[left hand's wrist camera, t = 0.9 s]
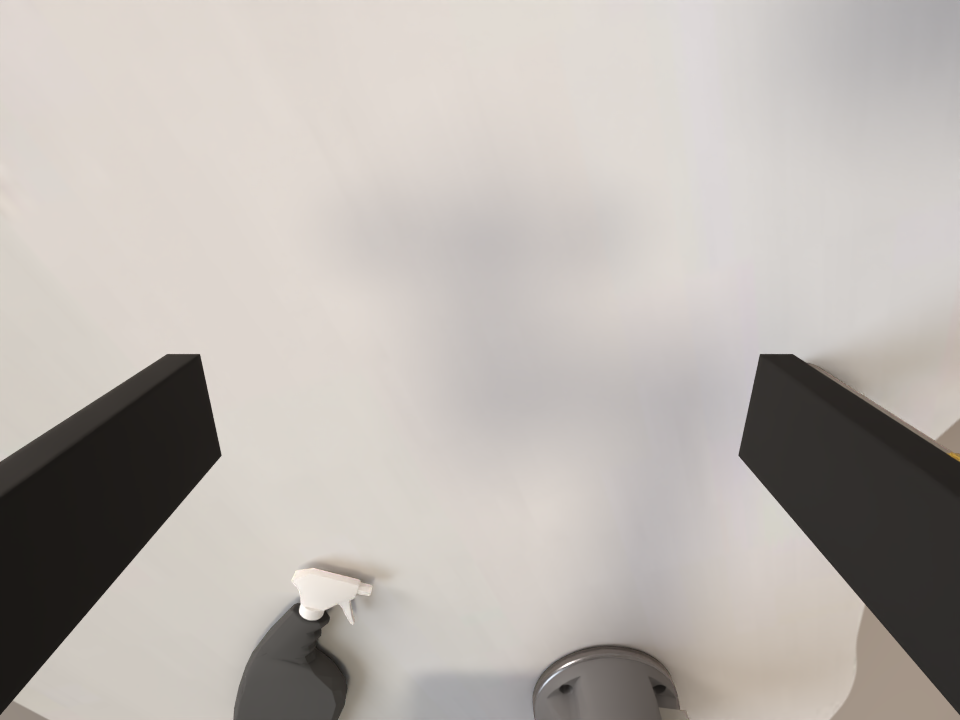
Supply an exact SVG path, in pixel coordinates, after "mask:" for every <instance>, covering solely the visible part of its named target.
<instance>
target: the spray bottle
mask: <svg viewBox="0 0 960 720" xmlns="http://www.w3.org/2000/svg"><path fill="white" fill-rule="evenodd" d="M291 582H292V583H293V584H294V585H295V586H296V587H297V588H298V591H299V594H300V602H301V603H297V604H294V605H293V606H292V607H291V608H290V609H289V610H288V611H287V613H286V614H285V615H284V616H283V617H282V618H281V619H280V620H279V621H278V622H277V623H276V624H275V625H274V626H273V627H272V628H271V629H270V630H269V631H268V633H267V634H266V635H265V637H264V638H263V639H262V641H261V642H260V643H259V645H258V646H257V647H256V649H255V650H254V651H253V653H252V655H251V657H250V659H249V661H248V663H247V665H246V667H245V670H244V673H243V676H242V679H241V682H240V685H239V689H238V693H237V698H236V702H235V707H234V720H338V718H339V716H340V714H341V711H342V709H343V707H344V704H345V699H346V693H347V685H346V681H345V677H344V676H343V674H342V673H341V672H340V670H339V669H338V667H337V666H336V664H335V663H334V662H333V661H332V660H331V659H330V658H329V657H327V656H326V655H325V654H324V653H322V652H321V651H319V650H318V649H316V644H317V639H318V638H319V637H320V636H321V628H322V627H323V626H325V625H326V624H327V623H328V622H329V619H330V617H329V615H328V613H327V612H326V609H329V608H331V607H333V606H335V605H337V604H339V605H340V606H341V607H342V609H343V611H344V613H345V615H346V617H347V619H348V620H349V622H350V623H351V625H352V624H354V623H355V619H354V615H353V610H352V606H351V600H352V599H354V598H355V596H356V594H361V595H367V596H370V594H371V591H372V587H373V585H369V584H365V583H362V582H360V580H359V579H355V578H351V577H347V576H343V575H339V574H335V573H331V572H327V571H323V570H319V569H315V568H309V569H302V570H296V572H295V574H294V576H293V578H292V580H291Z"/></svg>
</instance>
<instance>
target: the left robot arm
mask: <svg viewBox="0 0 960 720" xmlns="http://www.w3.org/2000/svg"><path fill="white" fill-rule="evenodd" d="M221 456H222V455H221V451H220V446H219V441H218V437H217V432H216V427H215V423H214V418H213V413H212V408H211V404H210V399H209V394H208V390H207V385H206V380H205V376H204V371H203V366H202V361H201V357H200V354H167V355H165V356H164V357H162V358H161V359H159V360H158V361H156V362H154V363H153V364H151V365H150V366H148V367H147V368H145V369H144V370H142V371H140V372H139V373H137V374H136V375H134V376H133V377H131V378H130V379H128V380H127V381H125V382H123V383H122V384H120V385H119V386H117V387H116V388H114V389H113V390H111V391H109V392H108V393H106V394H105V395H103V396H102V397H100V398H99V399H97V400H96V401H94V402H92V403H91V404H89V405H88V406H86V407H85V408H83V409H82V410H80V411H78V412H77V413H75V414H74V415H72V416H71V417H69V418H68V419H66V420H64V421H63V422H61V423H60V424H58V425H57V426H55V427H54V428H52V429H51V430H49V431H47V432H46V433H44V434H43V435H41V436H40V437H38V438H37V439H35V440H33V441H32V442H30V443H29V444H27V445H26V446H24V447H23V448H21V449H20V450H18V451H16V452H15V453H13V454H12V455H10V456H9V457H7V458H6V459H4V460H2V461H1V462H0V715H1V713H2V712H3V711H4V710H5V709H6V708H7V706H8V705H9V704H10V703H11V702H12V701H13V699H14V698H15V697H16V696H17V695H18V694H19V692H20V691H21V690H22V689H23V688H24V687H25V685H26V684H27V683H28V682H29V681H30V679H31V678H32V677H33V676H34V675H35V674H36V672H37V671H38V670H39V669H40V668H41V667H42V665H43V664H44V663H45V662H46V661H47V660H48V658H49V657H50V656H51V655H52V654H53V653H54V651H55V650H56V649H57V648H58V647H59V645H60V644H61V643H62V642H63V641H64V640H65V638H66V637H67V636H68V635H69V634H70V633H71V631H72V630H73V629H74V628H75V627H76V626H77V624H78V623H79V622H80V621H81V620H82V619H83V617H84V616H85V615H86V614H87V613H88V611H89V610H90V609H91V608H92V607H93V606H94V604H95V603H96V602H97V601H98V600H99V599H100V597H101V596H102V595H103V594H104V593H105V592H106V590H107V589H108V588H109V587H110V586H111V585H112V583H113V582H114V581H115V580H116V579H117V577H118V576H119V575H120V574H121V573H122V572H123V570H124V569H125V568H126V567H127V566H128V565H129V563H130V562H131V561H132V560H133V559H134V558H135V556H136V555H137V554H138V553H139V552H140V551H141V549H142V548H143V547H144V546H145V545H146V544H147V542H148V541H149V540H150V539H151V538H152V536H153V535H154V534H155V533H156V532H157V531H158V529H159V528H160V527H161V526H162V525H163V524H164V522H165V521H166V520H167V519H168V518H169V517H170V515H171V514H172V513H173V512H174V511H175V510H176V508H177V507H178V506H179V505H180V504H181V502H182V501H183V500H184V499H185V498H186V497H187V495H188V494H189V493H190V492H191V491H192V490H193V488H194V487H195V486H196V485H197V484H198V483H199V481H200V480H201V479H202V478H203V477H204V476H205V474H206V473H207V472H208V471H209V470H210V468H211V467H212V466H213V465H214V464H215V463H216V461H217V460H218V459H219V458H220V457H221ZM738 456H739V457H740V458H741V459H742V460H743V461H744V463H745V464H746V465H747V466H748V467H749V468H750V470H751V471H752V472H753V473H754V474H755V476H756V477H757V478H758V479H759V480H760V481H761V483H762V484H763V485H764V486H765V487H766V488H767V490H768V491H769V492H770V493H771V494H772V495H773V497H774V498H775V499H776V500H777V501H778V502H779V504H780V505H781V506H782V507H783V508H784V510H785V511H786V512H787V513H788V514H789V515H790V517H791V518H792V519H793V520H794V521H795V522H796V524H797V525H798V526H799V527H800V528H801V529H802V531H803V532H804V533H805V534H806V535H807V536H808V538H809V539H810V540H811V541H812V542H813V544H814V545H815V546H816V547H817V548H818V549H819V551H820V552H821V553H822V554H823V555H824V556H825V558H826V559H827V560H828V561H829V562H830V563H831V565H832V566H833V567H834V568H835V569H836V570H837V572H838V573H839V574H840V575H841V576H842V578H843V579H844V580H845V581H846V582H847V583H848V585H849V586H850V587H851V588H852V589H853V590H854V592H855V593H856V594H857V595H858V596H859V597H860V599H861V600H862V601H863V602H864V603H865V604H866V606H867V607H868V608H869V609H870V610H871V611H872V613H873V614H874V615H875V616H876V617H877V619H878V620H879V621H880V622H881V623H882V624H883V625H884V627H885V628H886V629H887V630H888V631H889V633H890V634H891V635H892V636H893V637H894V638H895V640H896V641H897V642H898V643H899V644H900V645H901V647H902V648H903V649H904V650H905V651H906V652H907V654H908V655H909V656H910V657H911V658H912V660H913V661H914V662H915V663H916V664H917V665H918V667H919V668H920V669H921V670H922V671H923V672H924V674H925V675H926V676H927V677H928V678H929V679H930V681H931V682H932V683H933V684H934V685H935V687H936V688H937V689H938V690H939V691H940V692H941V694H942V695H943V696H944V697H945V698H946V699H947V701H948V702H949V703H950V704H951V705H952V706H953V708H954V709H955V710H956V711H957V712H958V713H959V715H960V462H959V461H958V460H956V459H954V458H953V457H951V456H950V455H948V454H947V453H945V452H944V451H942V450H940V449H939V448H937V447H936V446H934V445H933V444H931V443H930V442H928V441H927V440H925V439H923V438H922V437H920V436H919V435H917V434H916V433H914V432H913V431H911V430H909V429H908V428H906V427H905V426H903V425H902V424H900V423H899V422H897V421H896V420H894V419H892V418H891V417H889V416H888V415H886V414H885V413H883V412H882V411H880V410H878V409H877V408H875V407H874V406H872V405H871V404H869V403H868V402H866V401H864V400H863V399H861V398H860V397H858V396H857V395H855V394H854V393H852V392H851V391H849V390H847V389H846V388H844V387H843V386H841V385H840V384H838V383H837V382H835V381H833V380H832V379H830V378H829V377H827V376H826V375H824V374H823V373H821V372H820V371H818V370H816V369H815V368H813V367H812V366H810V365H809V364H807V363H806V362H804V361H802V360H801V359H799V358H798V357H796V356H795V355H793V354H760V357H759V361H758V366H757V371H756V376H755V380H754V385H753V390H752V394H751V399H750V404H749V408H748V413H747V418H746V423H745V427H744V432H743V437H742V441H741V446H740V451H739V455H738ZM533 710H534V717H535V720H689V718H688V715H687V713H686V711H683V710H680V706H679V701H678V696H677V692H676V689H675V686H674V683H673V681H672V678H671V676H670V674H669V672H668V671H667V669H666V668H665V667H664V666H663V665H662V664H661V663H660V662H659V661H657V660H656V659H655V658H653V657H651V656H649V655H647V654H645V653H643V652H640V651H637V650H634V649H630V648H624V647H614V646H605V647H594V648H589V649H584V650H581V651H578V652H575V653H572V654H570V655H567V656H565V657H563V658H561V659H560V660H558V661H557V662H555V663H554V664H552V665H551V666H550V667H549V668H548V669H547V670H546V671H545V672H544V673H543V674H542V675H541V677H540V678H539V680H538V681H537V683H536V686H535V688H534V692H533Z"/></svg>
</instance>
